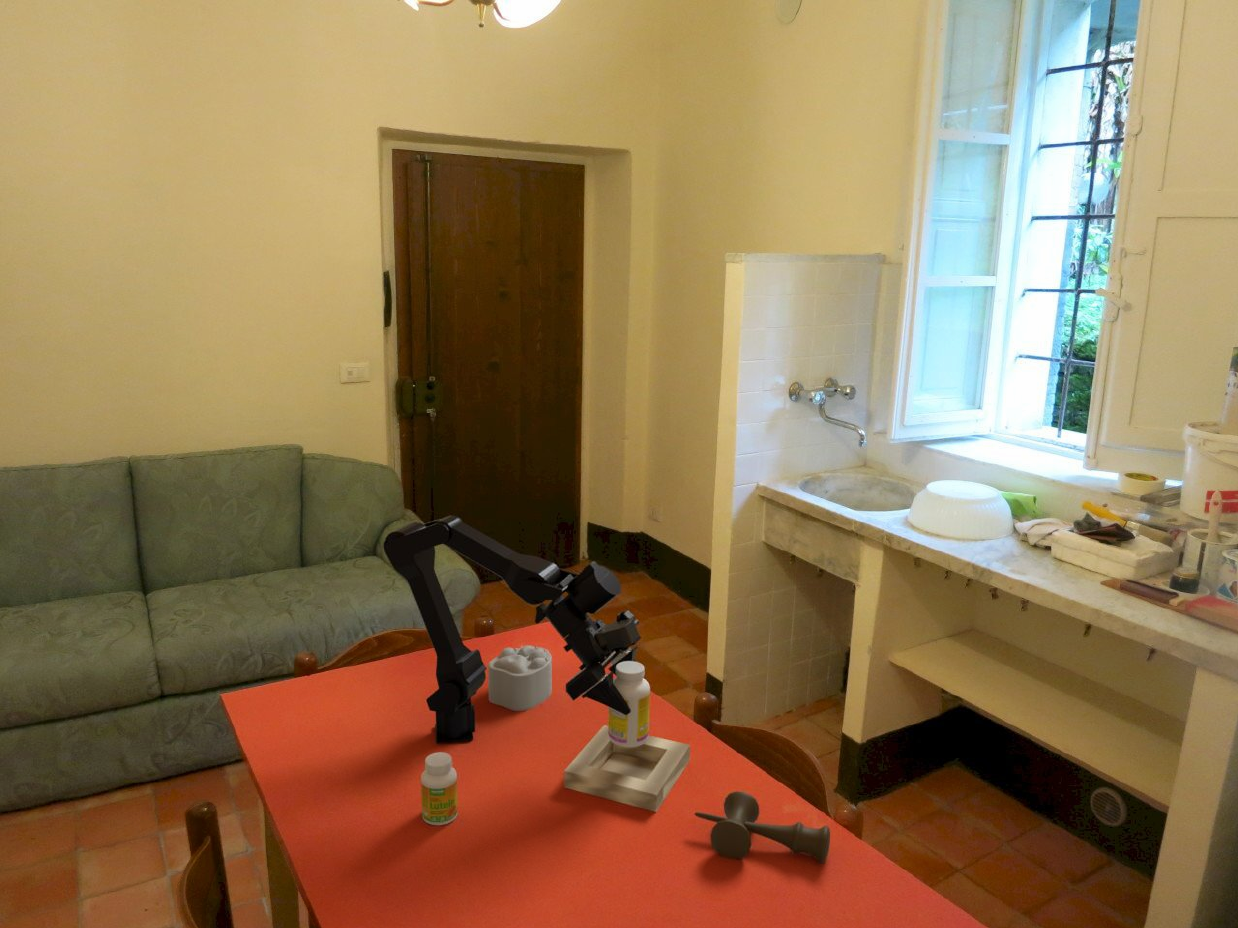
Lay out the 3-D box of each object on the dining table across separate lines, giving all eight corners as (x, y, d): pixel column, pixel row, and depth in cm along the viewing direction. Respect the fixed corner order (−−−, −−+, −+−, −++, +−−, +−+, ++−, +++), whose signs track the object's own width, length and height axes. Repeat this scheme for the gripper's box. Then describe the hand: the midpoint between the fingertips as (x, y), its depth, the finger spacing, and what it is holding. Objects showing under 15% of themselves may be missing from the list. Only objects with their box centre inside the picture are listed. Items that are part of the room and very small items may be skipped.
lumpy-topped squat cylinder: (481, 699, 179) (480, 657, 177) (523, 673, 189) (523, 634, 187) (524, 714, 173) (523, 672, 171) (564, 687, 184) (564, 647, 182)
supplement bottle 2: (645, 727, 157) (648, 657, 154) (650, 748, 150) (653, 675, 147) (606, 728, 156) (608, 658, 153) (609, 749, 150) (611, 676, 146)
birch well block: (564, 787, 151) (564, 770, 150) (604, 739, 165) (604, 724, 164) (656, 811, 145) (656, 794, 144) (689, 760, 159) (690, 744, 158)
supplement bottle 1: (427, 830, 139) (425, 772, 137) (418, 810, 144) (415, 754, 141) (462, 820, 142) (461, 763, 139) (451, 801, 146) (450, 746, 144)
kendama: (823, 884, 130) (685, 849, 136) (830, 844, 139) (700, 813, 145) (828, 846, 129) (688, 813, 135) (834, 808, 138) (703, 779, 144)
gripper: (584, 623, 141) (650, 705, 139) (631, 582, 157) (690, 655, 156) (538, 660, 145) (600, 739, 144) (588, 617, 162) (645, 688, 161)
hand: (636, 703), depth 151 cm, fingers closed on supplement bottle 2, 7 cm apart
